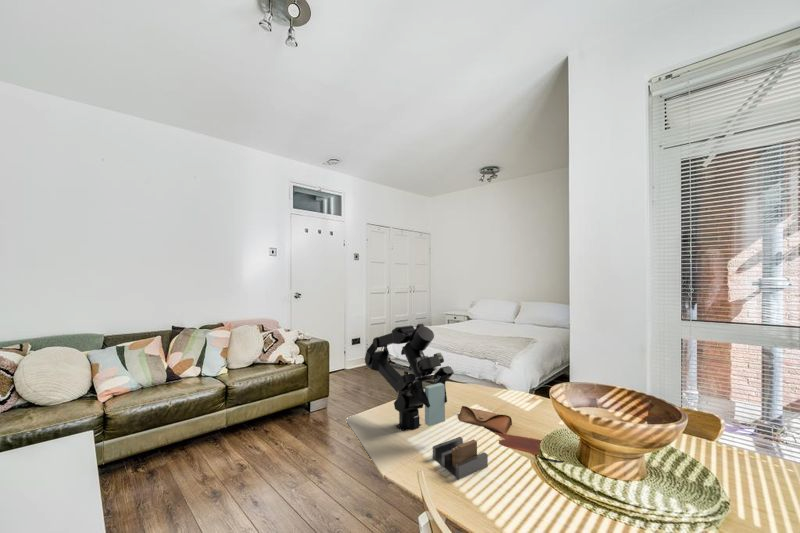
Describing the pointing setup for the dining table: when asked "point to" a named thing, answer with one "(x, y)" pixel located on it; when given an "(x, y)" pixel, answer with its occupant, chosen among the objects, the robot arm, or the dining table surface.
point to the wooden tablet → (520, 443)
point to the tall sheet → (435, 404)
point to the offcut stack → (464, 452)
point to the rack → (464, 468)
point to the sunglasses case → (486, 419)
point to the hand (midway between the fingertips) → (437, 404)
